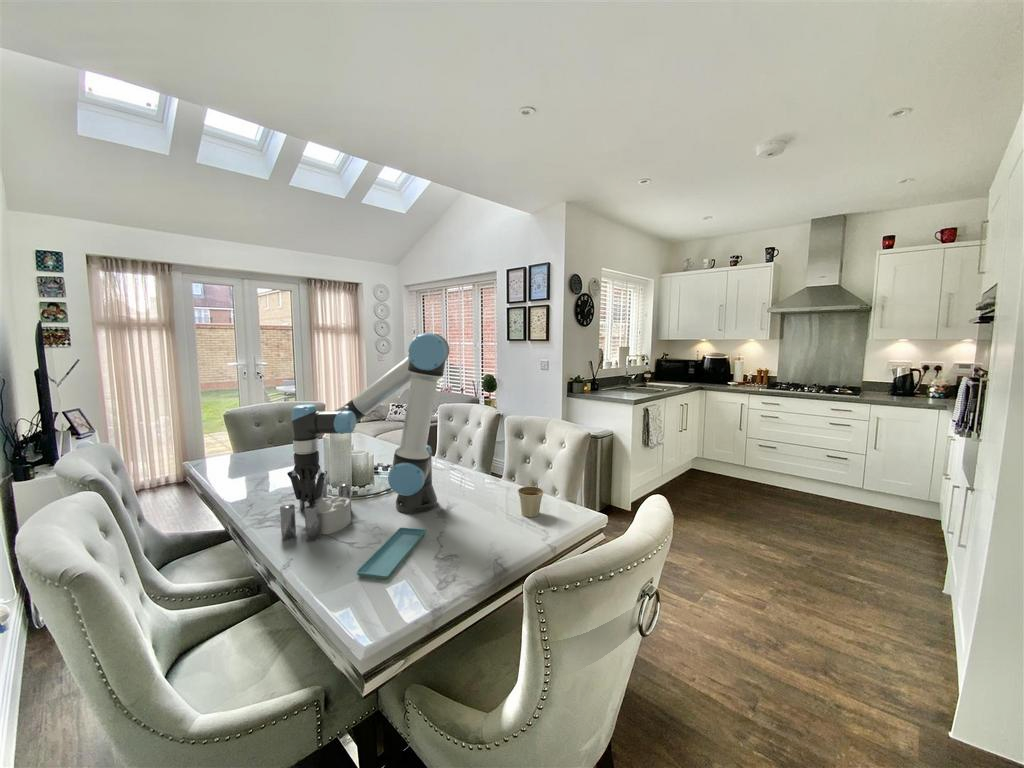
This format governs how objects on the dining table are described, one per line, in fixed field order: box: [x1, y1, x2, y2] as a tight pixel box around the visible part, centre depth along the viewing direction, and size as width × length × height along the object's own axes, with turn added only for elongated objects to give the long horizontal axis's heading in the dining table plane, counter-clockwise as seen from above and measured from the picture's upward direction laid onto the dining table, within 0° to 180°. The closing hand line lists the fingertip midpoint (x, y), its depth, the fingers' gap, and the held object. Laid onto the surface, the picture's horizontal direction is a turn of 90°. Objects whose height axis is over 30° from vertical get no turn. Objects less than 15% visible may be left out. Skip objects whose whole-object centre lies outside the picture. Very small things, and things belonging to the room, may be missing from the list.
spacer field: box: [279, 481, 353, 542], centre depth 141 cm, size 20×26×10 cm
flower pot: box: [517, 485, 545, 518], centre depth 148 cm, size 9×9×9 cm
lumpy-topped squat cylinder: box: [314, 495, 352, 535], centre depth 138 cm, size 10×13×9 cm
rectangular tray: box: [355, 526, 427, 581], centre depth 120 cm, size 26×9×2 cm, turn 169°
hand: (309, 519), depth 140 cm, fingers closed
